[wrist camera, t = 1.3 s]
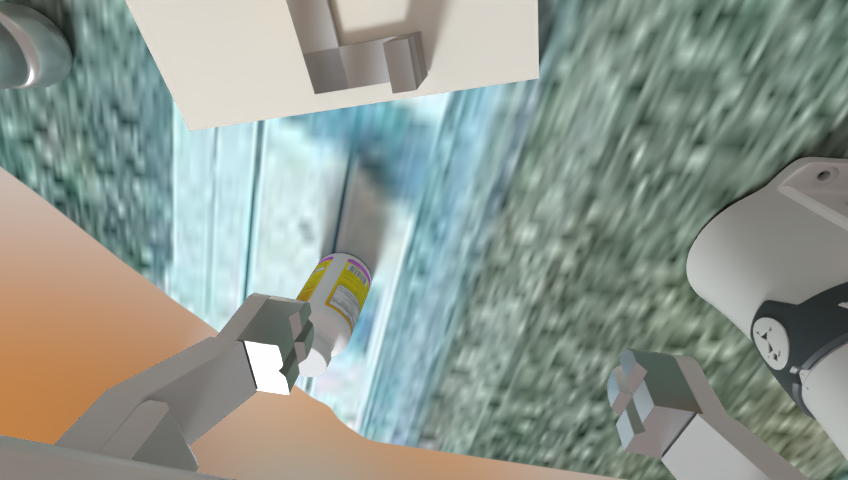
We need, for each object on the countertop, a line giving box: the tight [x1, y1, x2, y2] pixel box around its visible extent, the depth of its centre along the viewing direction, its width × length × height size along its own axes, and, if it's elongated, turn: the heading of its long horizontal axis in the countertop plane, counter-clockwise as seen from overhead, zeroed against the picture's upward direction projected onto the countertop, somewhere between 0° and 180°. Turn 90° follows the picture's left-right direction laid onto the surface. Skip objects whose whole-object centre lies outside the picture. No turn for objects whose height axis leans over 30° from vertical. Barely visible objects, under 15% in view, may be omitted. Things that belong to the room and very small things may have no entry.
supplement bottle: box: [296, 253, 371, 377], centre depth 40 cm, size 7×7×13 cm
